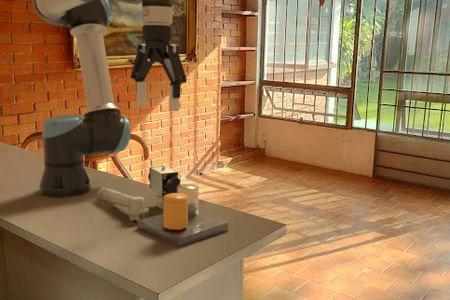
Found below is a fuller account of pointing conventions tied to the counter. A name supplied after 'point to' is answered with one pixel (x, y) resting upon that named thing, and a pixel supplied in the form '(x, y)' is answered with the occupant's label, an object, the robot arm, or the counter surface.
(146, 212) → the white handheld device
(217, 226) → the grey slab with post
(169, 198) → the orange acorn nut
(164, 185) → the pneumatic valve
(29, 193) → the counter surface
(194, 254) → the counter surface
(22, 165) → the counter surface
